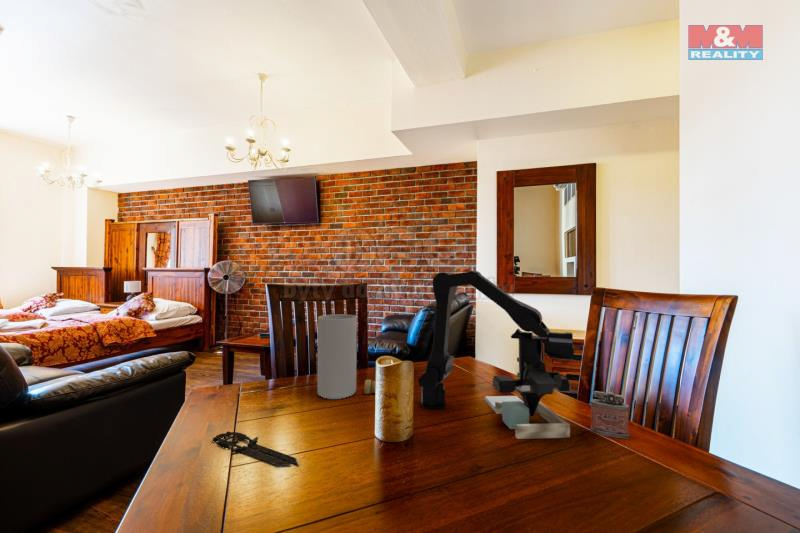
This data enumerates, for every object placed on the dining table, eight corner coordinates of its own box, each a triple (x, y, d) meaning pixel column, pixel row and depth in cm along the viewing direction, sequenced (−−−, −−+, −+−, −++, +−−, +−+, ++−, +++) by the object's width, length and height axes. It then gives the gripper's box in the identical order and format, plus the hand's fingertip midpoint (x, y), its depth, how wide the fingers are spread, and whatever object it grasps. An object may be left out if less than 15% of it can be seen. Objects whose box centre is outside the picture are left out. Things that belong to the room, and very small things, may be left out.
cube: (509, 429, 83) (509, 409, 83) (502, 420, 88) (502, 401, 88) (529, 428, 84) (528, 408, 84) (520, 419, 89) (520, 401, 89)
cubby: (517, 438, 78) (517, 426, 78) (495, 412, 93) (495, 401, 93) (570, 437, 79) (569, 424, 79) (539, 411, 94) (539, 400, 94)
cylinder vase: (337, 384, 117) (338, 313, 117) (364, 391, 110) (364, 316, 110) (309, 394, 107) (310, 317, 107) (336, 403, 99) (336, 320, 100)
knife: (304, 465, 68) (304, 458, 68) (277, 481, 63) (277, 474, 63) (235, 432, 82) (235, 426, 82) (208, 443, 76) (208, 437, 76)
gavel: (372, 367, 127) (398, 368, 127) (372, 379, 127) (397, 380, 127) (364, 381, 106) (395, 382, 106) (364, 396, 106) (395, 396, 106)
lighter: (627, 433, 81) (627, 392, 81) (630, 440, 78) (630, 397, 78) (590, 427, 84) (589, 388, 85) (591, 433, 81) (591, 392, 82)
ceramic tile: (494, 410, 94) (494, 406, 94) (485, 400, 102) (485, 396, 102) (528, 410, 95) (528, 406, 95) (516, 399, 103) (516, 395, 103)
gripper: (507, 365, 78) (508, 431, 78) (583, 363, 79) (584, 429, 79) (491, 354, 89) (492, 412, 89) (558, 352, 90) (559, 410, 90)
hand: (531, 416), depth 86 cm, fingers closed
